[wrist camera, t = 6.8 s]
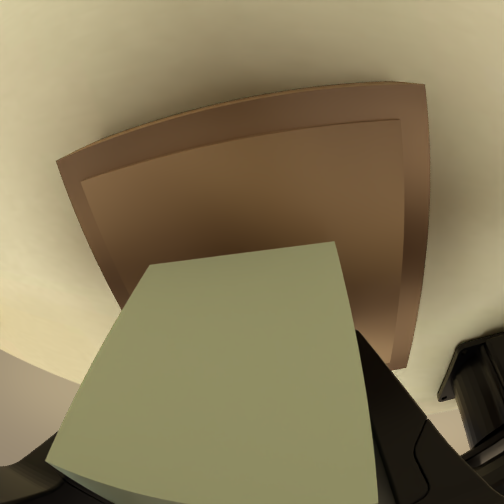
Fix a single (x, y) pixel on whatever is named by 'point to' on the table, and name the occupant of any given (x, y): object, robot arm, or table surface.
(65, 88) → the table surface
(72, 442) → the sage block
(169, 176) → the walnut base
